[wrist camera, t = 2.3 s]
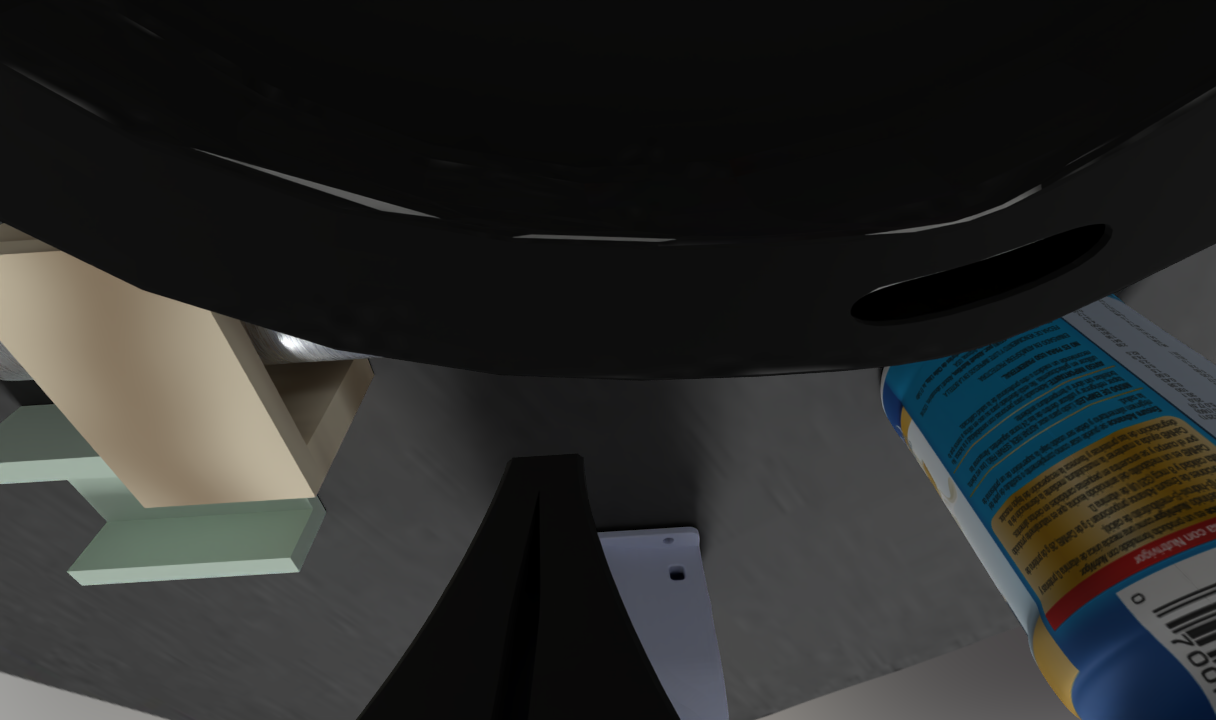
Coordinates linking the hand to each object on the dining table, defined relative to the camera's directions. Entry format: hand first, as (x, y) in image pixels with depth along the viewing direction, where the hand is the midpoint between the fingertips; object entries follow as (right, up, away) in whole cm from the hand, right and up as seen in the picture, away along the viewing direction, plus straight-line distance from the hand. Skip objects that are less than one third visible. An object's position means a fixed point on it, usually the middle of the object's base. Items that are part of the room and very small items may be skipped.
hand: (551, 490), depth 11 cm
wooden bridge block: (-10, +5, +8) cm, 14 cm away
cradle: (-16, -2, +12) cm, 21 cm away
